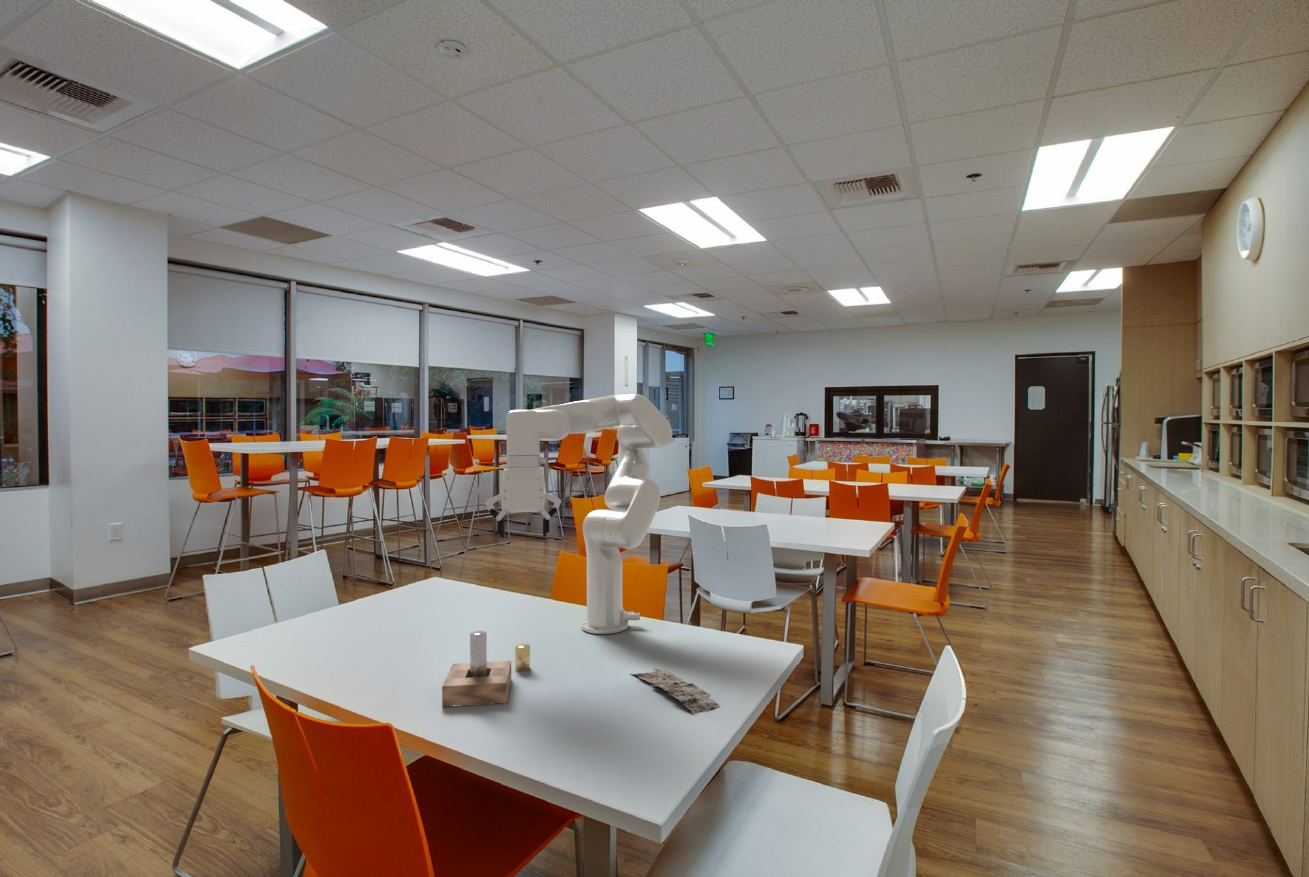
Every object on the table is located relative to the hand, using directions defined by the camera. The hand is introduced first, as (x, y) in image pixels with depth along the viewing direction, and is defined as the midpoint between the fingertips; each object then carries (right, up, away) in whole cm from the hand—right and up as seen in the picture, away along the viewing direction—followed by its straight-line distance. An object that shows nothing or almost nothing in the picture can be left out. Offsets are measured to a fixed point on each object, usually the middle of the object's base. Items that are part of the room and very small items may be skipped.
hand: (523, 536), depth 149 cm
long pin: (-5, -29, -20) cm, 35 cm away
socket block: (-5, -29, -20) cm, 35 cm away
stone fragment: (+34, -29, -18) cm, 48 cm away
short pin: (+1, -28, -7) cm, 29 cm away
